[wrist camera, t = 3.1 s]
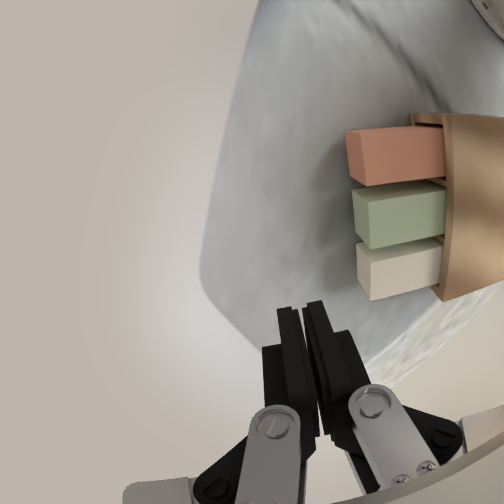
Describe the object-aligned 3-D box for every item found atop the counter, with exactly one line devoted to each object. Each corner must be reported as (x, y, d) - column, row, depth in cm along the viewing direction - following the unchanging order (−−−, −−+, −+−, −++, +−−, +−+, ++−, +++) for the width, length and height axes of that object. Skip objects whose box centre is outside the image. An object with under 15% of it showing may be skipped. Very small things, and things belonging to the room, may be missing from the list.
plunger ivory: (355, 243, 21) (370, 262, 18) (448, 224, 20) (469, 239, 17) (357, 278, 22) (370, 301, 19) (445, 257, 21) (464, 275, 18)
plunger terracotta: (343, 131, 17) (360, 133, 14) (445, 125, 16) (471, 129, 13) (349, 176, 18) (366, 186, 16) (448, 164, 18) (473, 173, 15)
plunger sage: (351, 189, 19) (367, 202, 16) (449, 176, 18) (473, 186, 15) (355, 231, 20) (370, 249, 17) (448, 213, 19) (470, 227, 16)
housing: (409, 112, 17) (449, 114, 12) (502, 117, 16) (540, 124, 11) (414, 269, 22) (442, 302, 18) (498, 246, 21) (527, 269, 17)
